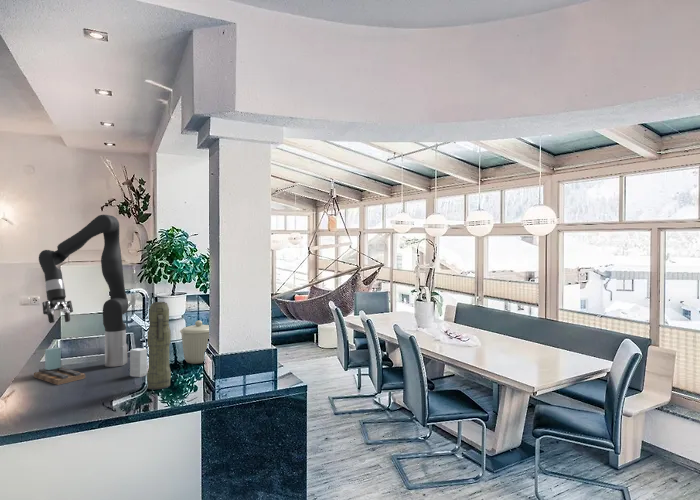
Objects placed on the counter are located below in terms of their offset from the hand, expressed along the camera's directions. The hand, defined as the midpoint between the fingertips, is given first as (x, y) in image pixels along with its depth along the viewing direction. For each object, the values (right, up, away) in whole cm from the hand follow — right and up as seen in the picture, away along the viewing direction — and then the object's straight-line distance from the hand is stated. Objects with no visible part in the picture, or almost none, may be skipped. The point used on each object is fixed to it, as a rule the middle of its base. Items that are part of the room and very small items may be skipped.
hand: (60, 322), depth 205 cm
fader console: (+10, -22, -16) cm, 29 cm away
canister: (+63, -23, +12) cm, 68 cm away
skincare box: (+44, -22, -13) cm, 51 cm away
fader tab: (+5, -20, -13) cm, 24 cm away
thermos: (+61, -22, -28) cm, 71 cm away
